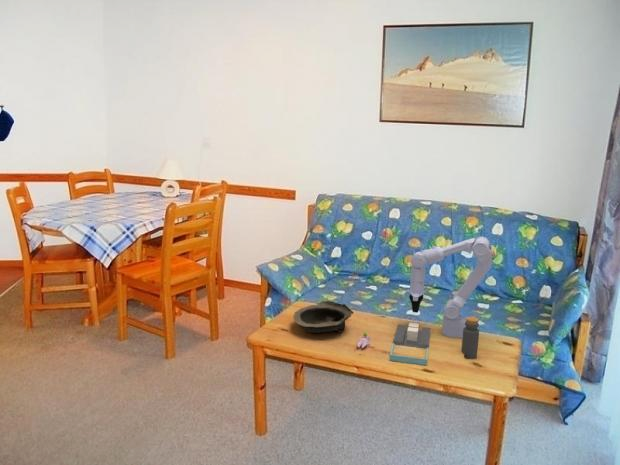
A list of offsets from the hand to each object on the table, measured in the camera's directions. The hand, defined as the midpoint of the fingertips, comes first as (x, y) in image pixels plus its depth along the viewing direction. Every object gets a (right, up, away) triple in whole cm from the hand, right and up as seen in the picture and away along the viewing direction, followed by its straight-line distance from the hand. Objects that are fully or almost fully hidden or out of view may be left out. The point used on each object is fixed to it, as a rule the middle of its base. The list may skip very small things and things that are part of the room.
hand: (415, 311), depth 230 cm
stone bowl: (-39, -8, +2) cm, 40 cm away
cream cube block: (-2, -8, -5) cm, 10 cm away
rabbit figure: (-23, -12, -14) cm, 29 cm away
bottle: (+17, -14, -20) cm, 30 cm away
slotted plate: (-3, -11, -8) cm, 14 cm away
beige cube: (-3, -9, -9) cm, 14 cm away
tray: (-7, -14, -22) cm, 27 cm away
